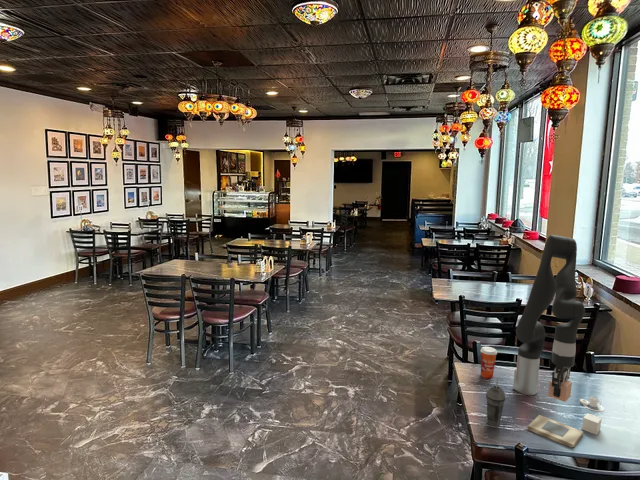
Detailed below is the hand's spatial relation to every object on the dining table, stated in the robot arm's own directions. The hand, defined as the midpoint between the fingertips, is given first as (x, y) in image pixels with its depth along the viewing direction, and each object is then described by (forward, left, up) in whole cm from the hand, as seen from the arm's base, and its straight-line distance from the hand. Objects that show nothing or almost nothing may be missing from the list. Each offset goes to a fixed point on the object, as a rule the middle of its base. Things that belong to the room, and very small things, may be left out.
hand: (559, 393), depth 164 cm
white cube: (+9, +13, -16) cm, 23 cm away
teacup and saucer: (+3, +36, -17) cm, 40 cm away
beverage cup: (-19, -12, -16) cm, 28 cm away
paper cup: (-40, +27, -16) cm, 51 cm away
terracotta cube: (0, 0, -1) cm, 1 cm away
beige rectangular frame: (0, 0, -16) cm, 16 cm away
